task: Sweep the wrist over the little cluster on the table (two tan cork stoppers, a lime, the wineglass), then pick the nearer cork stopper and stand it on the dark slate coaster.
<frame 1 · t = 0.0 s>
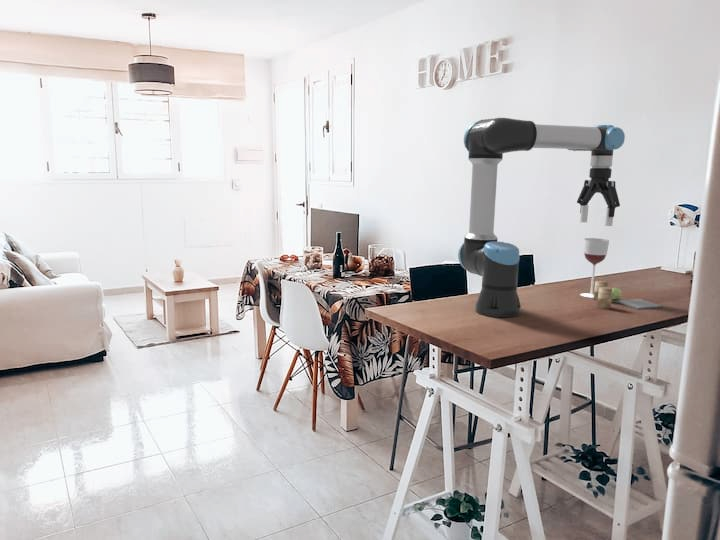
hand: (595, 224, 215), 28 cm above the table, fingers open, 13 cm apart
coaster: (638, 304, 206), on the table
lime: (614, 299, 214), on the table
cork a: (603, 307, 201), on the table
wineglass: (591, 296, 220), on the table
cork b: (599, 299, 213), on the table
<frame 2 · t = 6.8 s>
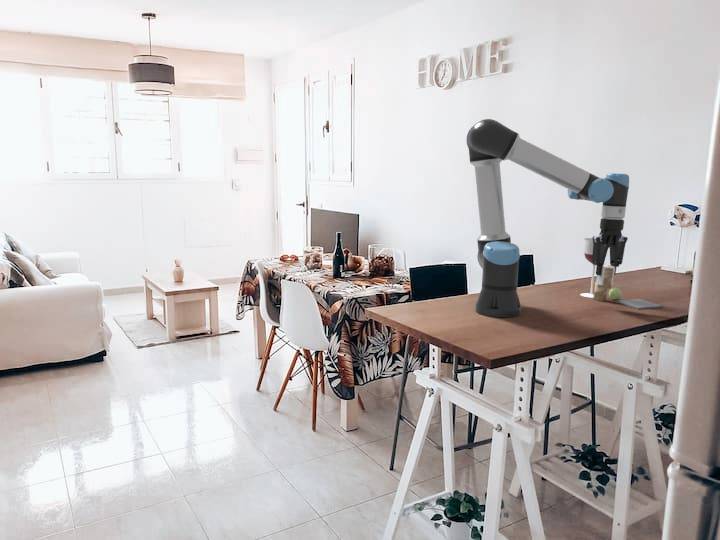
hand: (604, 284, 200), 9 cm above the table, fingers closed on cork a, 4 cm apart
cork a: (604, 287, 200), point 7 cm above the table, touching gripper
everything else where it was.
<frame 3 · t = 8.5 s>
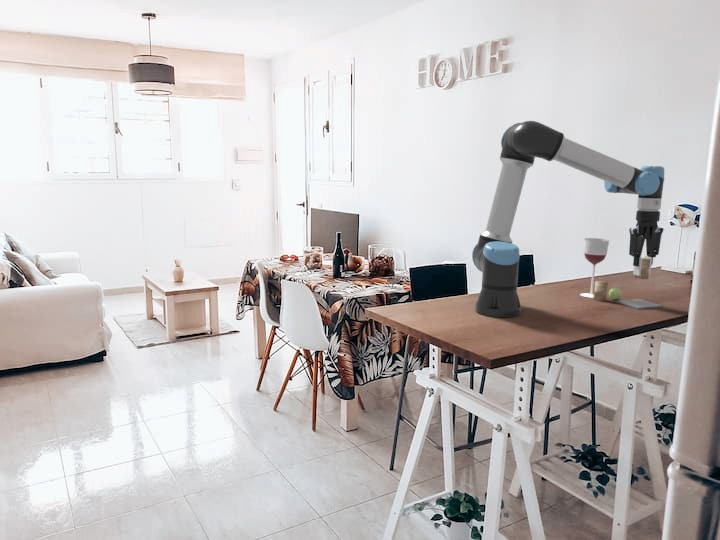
hand: (641, 274, 204), 11 cm above the table, fingers closed on cork a, 4 cm apart
cork a: (641, 277, 204), point 10 cm above the table, touching gripper
everything else where it was.
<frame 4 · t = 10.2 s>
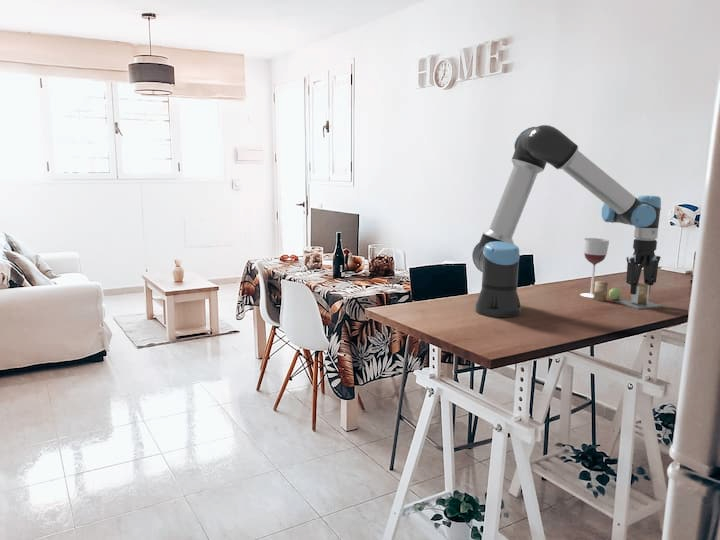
hand: (639, 302, 206), 1 cm above the table, fingers closed on cork a, 4 cm apart
cork a: (639, 303, 206), point 1 cm above the table, touching coaster, gripper
everything else where it was.
when the fingers open (1 cm above the table, at t = 10.6 s): cork a stays where it is, resting on coaster.
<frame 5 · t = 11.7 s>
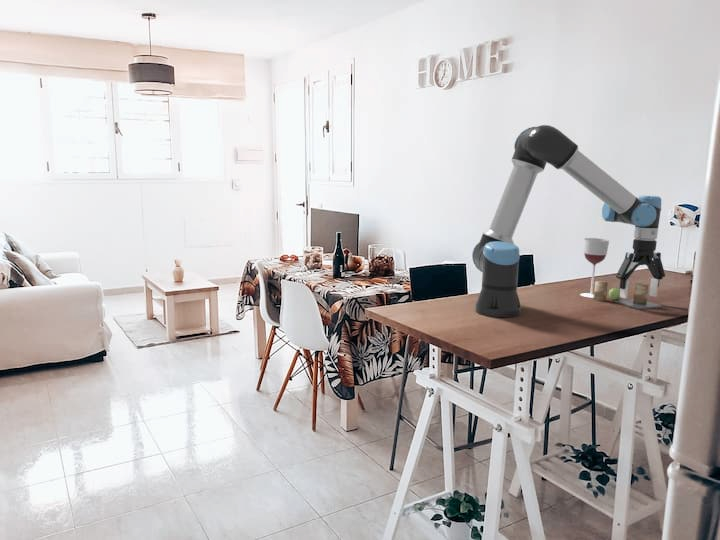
hand: (638, 296, 206), 3 cm above the table, fingers open, 13 cm apart
cork a: (639, 303, 206), point 1 cm above the table, touching coaster
everything else where it was.
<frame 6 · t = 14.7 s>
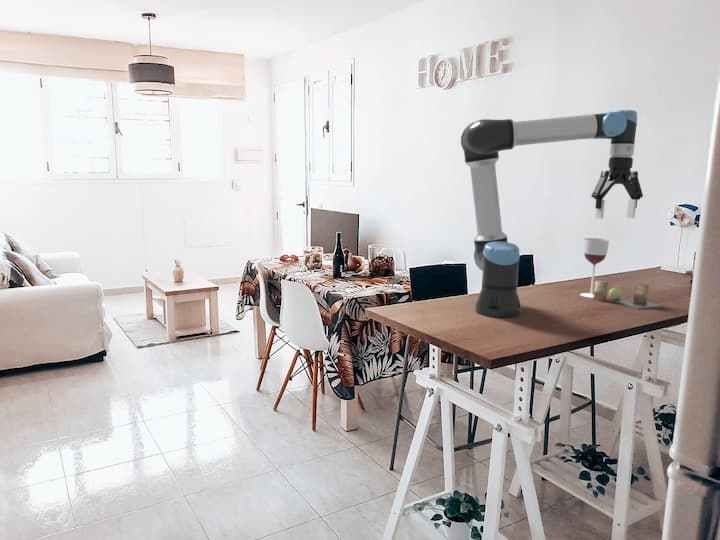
hand: (615, 218, 198), 32 cm above the table, fingers open, 13 cm apart
nothing on the table moved.
at the end: cork a inside the target area on the coaster (0.6 cm from its centre), point 0.7 cm above the coaster's base; cork a tilted 3°; the gripper is holding nothing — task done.
